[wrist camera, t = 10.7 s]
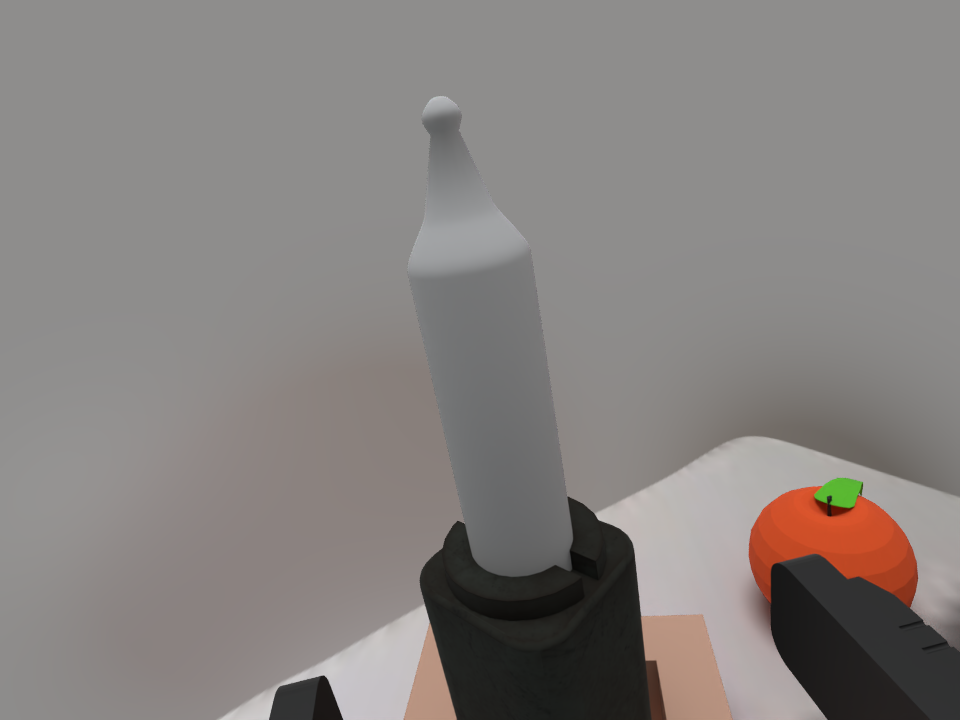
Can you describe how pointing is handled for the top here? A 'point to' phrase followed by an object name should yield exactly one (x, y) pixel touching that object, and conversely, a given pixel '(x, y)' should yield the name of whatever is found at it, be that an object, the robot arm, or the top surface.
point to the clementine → (834, 537)
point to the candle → (511, 480)
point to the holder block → (669, 663)
